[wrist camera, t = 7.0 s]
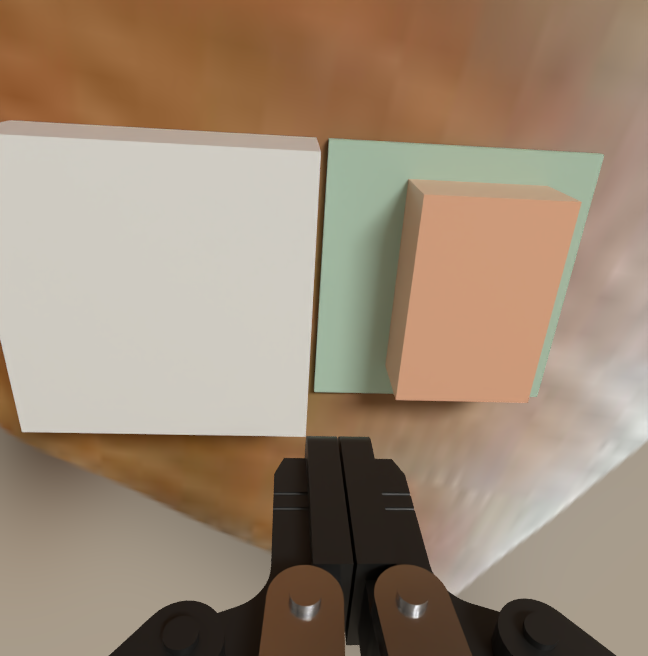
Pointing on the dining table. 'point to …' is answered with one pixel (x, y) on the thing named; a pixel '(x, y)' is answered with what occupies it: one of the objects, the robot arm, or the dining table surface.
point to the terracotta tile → (476, 288)
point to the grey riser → (157, 278)
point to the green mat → (385, 237)
